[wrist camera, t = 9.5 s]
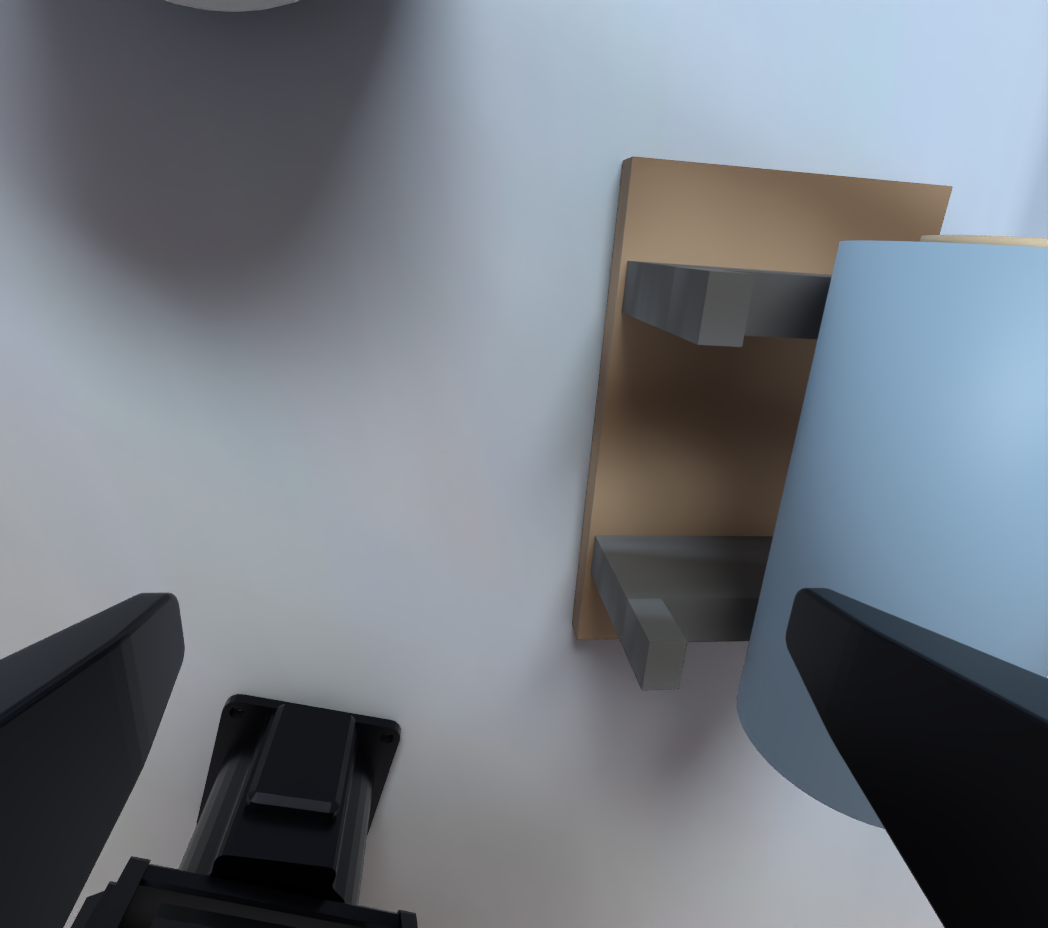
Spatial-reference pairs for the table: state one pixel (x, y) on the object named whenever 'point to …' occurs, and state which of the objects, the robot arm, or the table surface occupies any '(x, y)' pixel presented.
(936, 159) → the table surface
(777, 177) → the holder
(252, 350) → the table surface
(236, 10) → the teacup
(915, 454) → the roll
